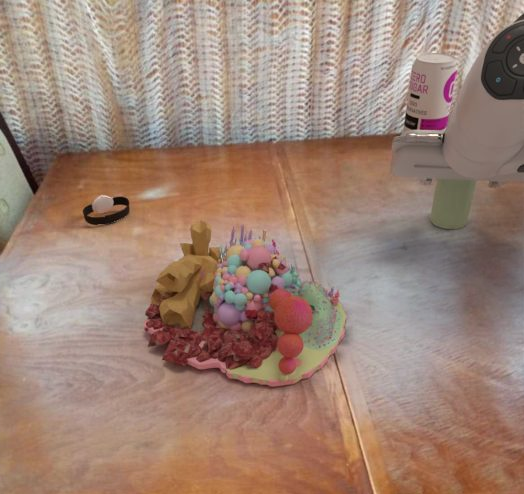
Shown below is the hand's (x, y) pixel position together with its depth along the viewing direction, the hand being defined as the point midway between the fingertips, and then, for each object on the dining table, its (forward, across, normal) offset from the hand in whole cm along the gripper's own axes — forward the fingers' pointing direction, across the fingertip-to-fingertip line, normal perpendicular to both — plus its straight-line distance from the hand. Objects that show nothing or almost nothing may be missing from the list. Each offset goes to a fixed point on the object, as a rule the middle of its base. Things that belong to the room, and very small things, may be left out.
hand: (459, 181), depth 77 cm
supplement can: (+30, -3, +20) cm, 36 cm away
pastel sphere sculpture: (-13, -26, -24) cm, 38 cm away
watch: (+3, -54, -8) cm, 55 cm away
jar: (+7, 0, -4) cm, 8 cm away
